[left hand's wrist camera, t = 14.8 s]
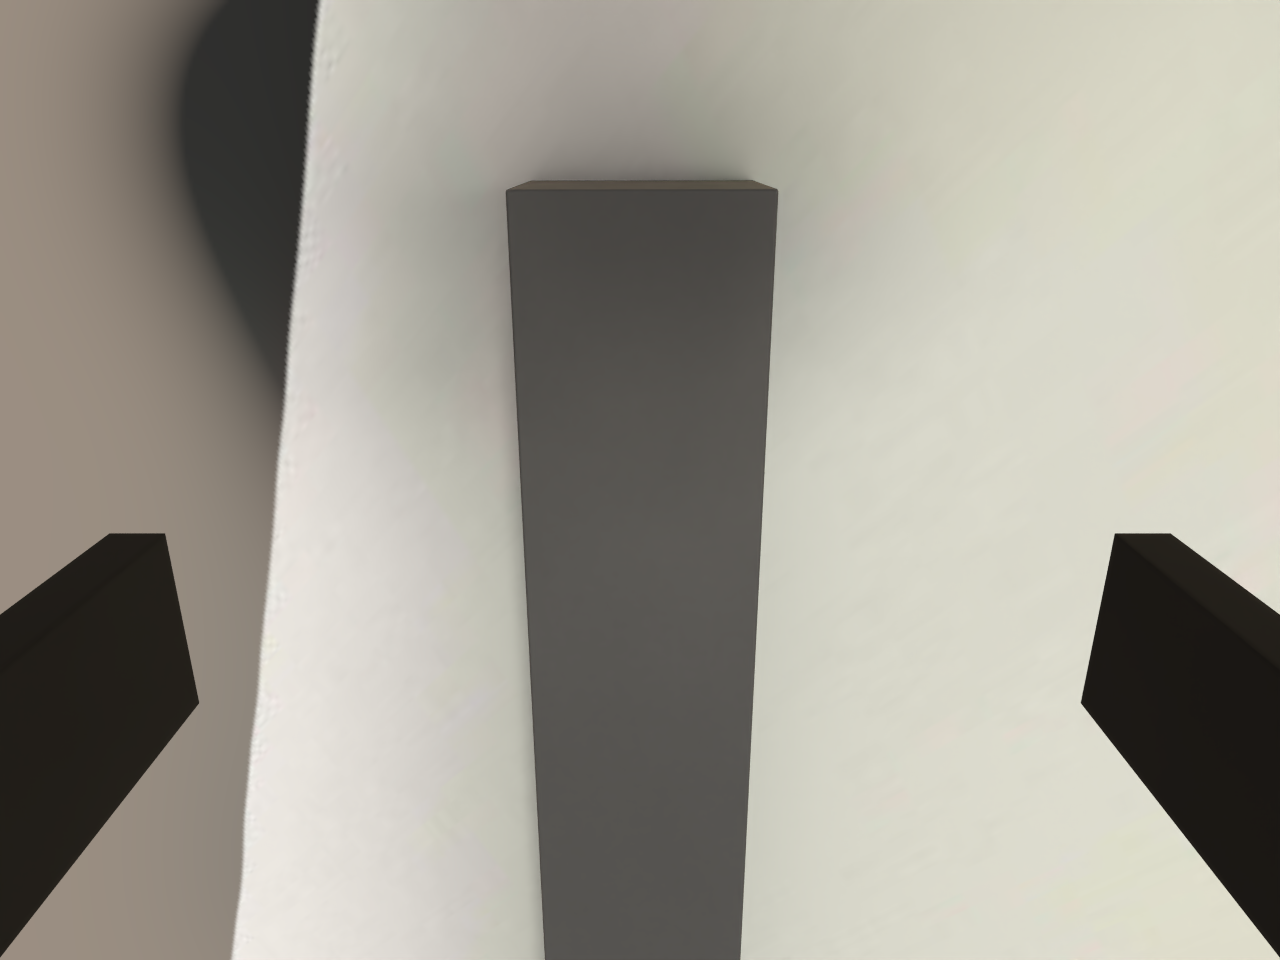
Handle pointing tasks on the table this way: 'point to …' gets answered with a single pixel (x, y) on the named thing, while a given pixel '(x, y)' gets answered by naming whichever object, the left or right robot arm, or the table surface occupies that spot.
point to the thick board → (642, 549)
